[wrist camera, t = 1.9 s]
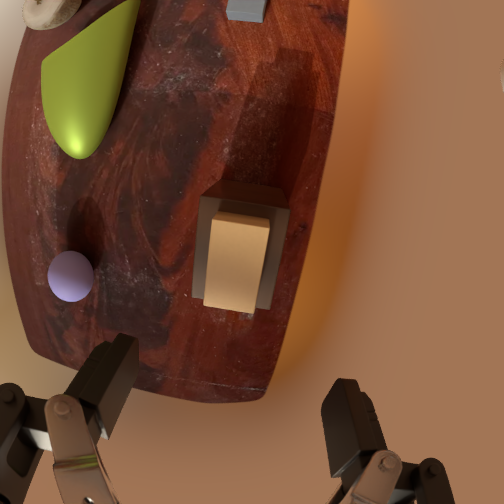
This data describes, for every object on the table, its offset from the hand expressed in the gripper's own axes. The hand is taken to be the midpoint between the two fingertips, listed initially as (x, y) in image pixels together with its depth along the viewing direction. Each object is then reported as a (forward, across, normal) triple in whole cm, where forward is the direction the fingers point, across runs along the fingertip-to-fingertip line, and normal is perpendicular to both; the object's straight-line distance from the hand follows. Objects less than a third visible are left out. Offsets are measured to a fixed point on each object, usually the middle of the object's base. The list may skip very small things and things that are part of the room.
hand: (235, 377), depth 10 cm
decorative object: (+25, +33, -26) cm, 49 cm away
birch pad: (+14, +1, +1) cm, 14 cm away
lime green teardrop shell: (+25, +23, -14) cm, 36 cm away
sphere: (+25, +23, +12) cm, 36 cm away
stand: (+24, +1, +1) cm, 25 cm away
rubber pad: (+24, +6, -27) cm, 37 cm away
